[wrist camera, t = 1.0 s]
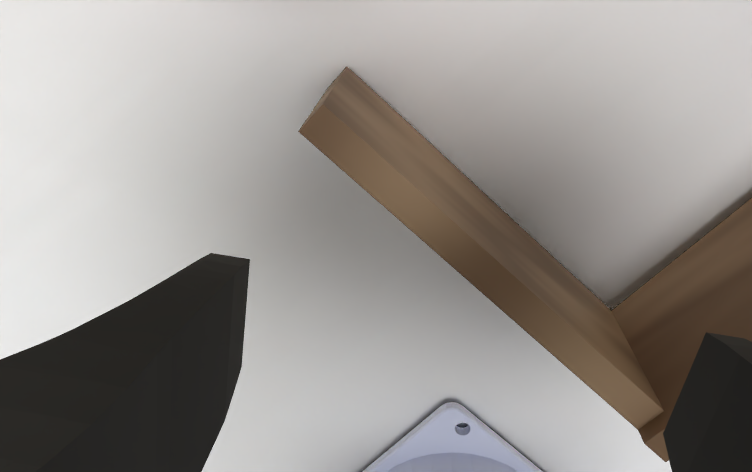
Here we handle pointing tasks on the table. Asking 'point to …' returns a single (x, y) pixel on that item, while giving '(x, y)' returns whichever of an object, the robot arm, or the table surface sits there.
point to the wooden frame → (546, 264)
